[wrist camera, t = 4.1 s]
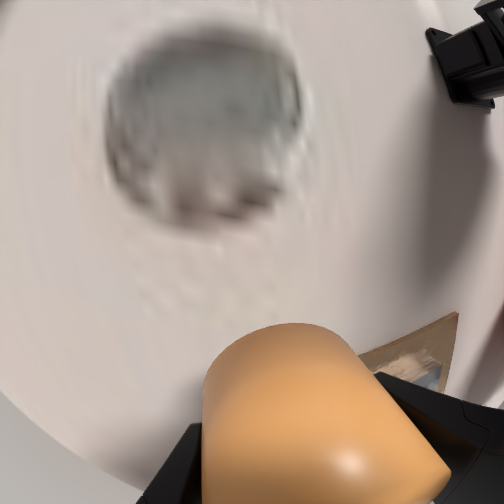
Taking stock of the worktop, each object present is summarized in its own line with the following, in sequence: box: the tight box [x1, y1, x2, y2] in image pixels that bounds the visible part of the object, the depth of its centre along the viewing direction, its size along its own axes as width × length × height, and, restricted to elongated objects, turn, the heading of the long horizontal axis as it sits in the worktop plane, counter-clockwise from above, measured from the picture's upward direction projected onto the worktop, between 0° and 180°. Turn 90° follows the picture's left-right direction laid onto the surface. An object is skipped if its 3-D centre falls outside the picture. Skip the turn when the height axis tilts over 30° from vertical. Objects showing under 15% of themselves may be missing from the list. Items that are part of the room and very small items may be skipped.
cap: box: [202, 323, 451, 504], centre depth 6 cm, size 6×6×6 cm
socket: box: [358, 312, 459, 394], centre depth 18 cm, size 16×16×2 cm
